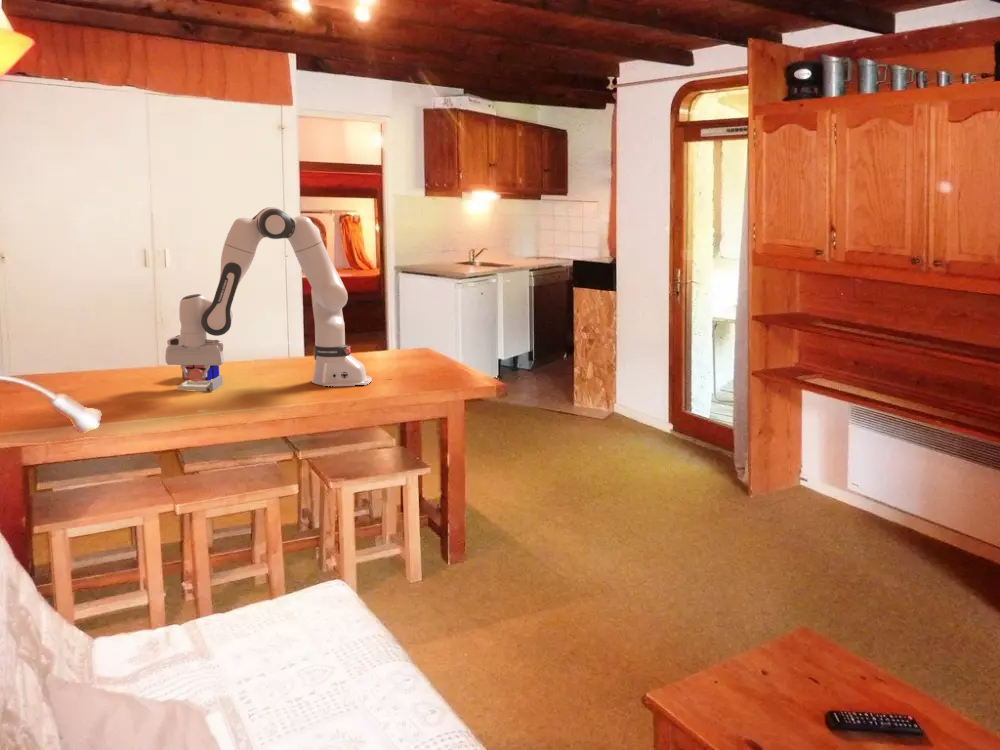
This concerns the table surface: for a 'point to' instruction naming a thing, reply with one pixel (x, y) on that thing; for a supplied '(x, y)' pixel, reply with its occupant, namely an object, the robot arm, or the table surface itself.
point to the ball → (195, 375)
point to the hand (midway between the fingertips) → (195, 376)
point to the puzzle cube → (211, 373)
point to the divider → (216, 383)
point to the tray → (194, 385)
